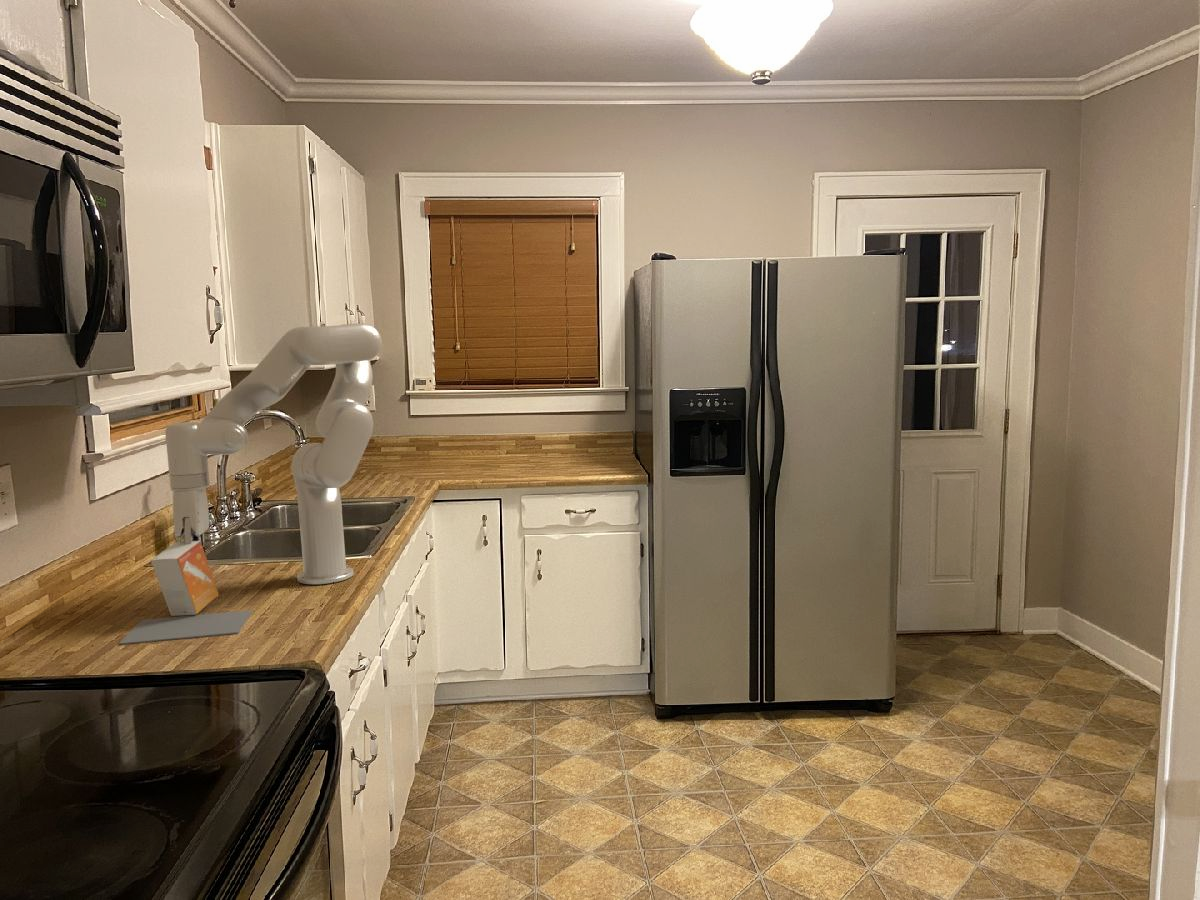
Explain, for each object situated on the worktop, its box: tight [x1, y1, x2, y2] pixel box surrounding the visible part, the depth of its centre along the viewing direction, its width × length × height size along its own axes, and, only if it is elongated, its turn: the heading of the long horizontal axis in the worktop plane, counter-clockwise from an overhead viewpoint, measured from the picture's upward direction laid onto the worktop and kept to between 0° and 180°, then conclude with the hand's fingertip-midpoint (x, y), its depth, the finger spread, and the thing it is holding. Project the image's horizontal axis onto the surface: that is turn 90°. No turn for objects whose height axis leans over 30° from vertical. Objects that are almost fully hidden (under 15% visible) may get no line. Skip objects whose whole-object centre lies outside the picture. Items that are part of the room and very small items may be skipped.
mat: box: [118, 609, 253, 645], centre depth 173 cm, size 14×21×1 cm, turn 101°
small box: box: [150, 541, 219, 617], centre depth 181 cm, size 8×6×13 cm
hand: (197, 566), depth 187 cm, fingers closed
